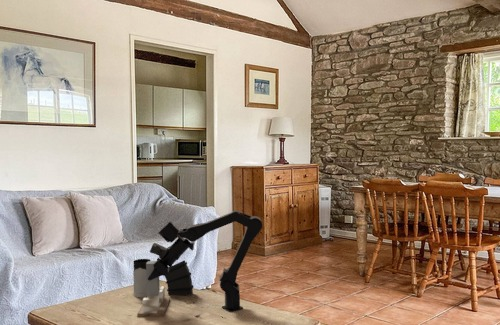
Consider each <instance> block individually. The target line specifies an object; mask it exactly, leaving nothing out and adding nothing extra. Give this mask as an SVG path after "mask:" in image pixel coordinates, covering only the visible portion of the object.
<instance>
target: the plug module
mask: <svg viewBox="0 0 500 325" xmlns="http://www.w3.org/2000/svg"><path fill="white" fill-rule="evenodd" d="M156 261H157V260H151V261H148V262H147V263H146V280H147V296H158V295H159V293H160V277H157V278H155V279H152V280H150V281H149V280H148V277H149V276H150V274H151V273H152V271H153V270H154V266H153V264H154V263H155V262H156ZM147 296H146V297H147Z"/></svg>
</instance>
